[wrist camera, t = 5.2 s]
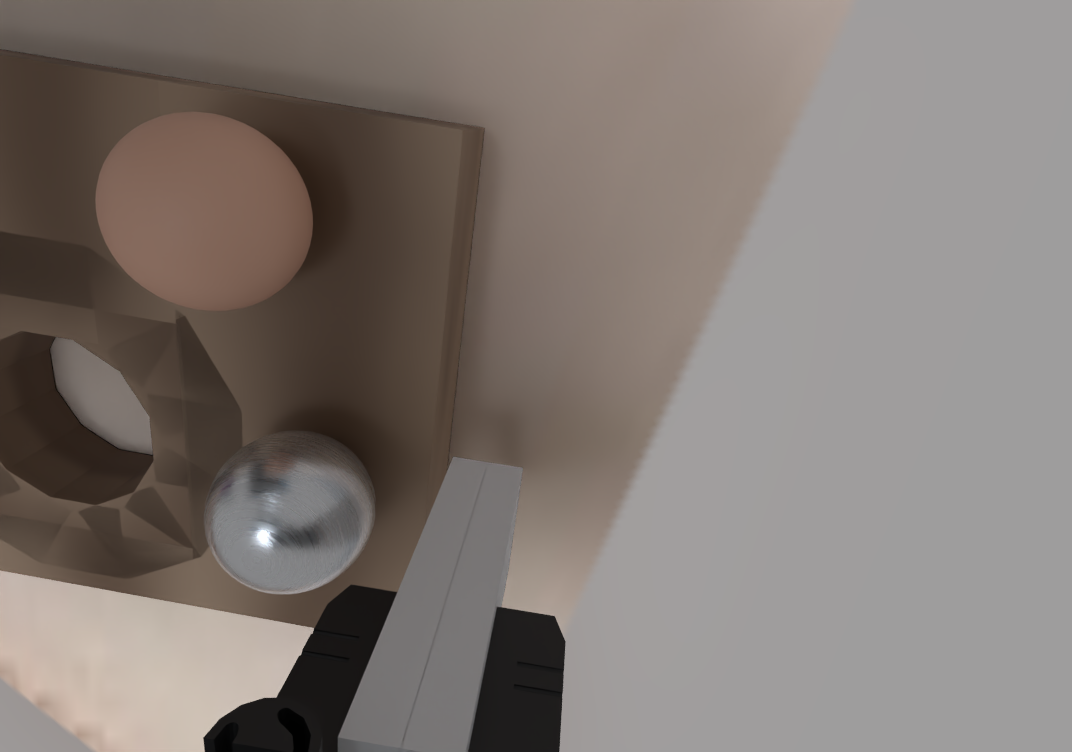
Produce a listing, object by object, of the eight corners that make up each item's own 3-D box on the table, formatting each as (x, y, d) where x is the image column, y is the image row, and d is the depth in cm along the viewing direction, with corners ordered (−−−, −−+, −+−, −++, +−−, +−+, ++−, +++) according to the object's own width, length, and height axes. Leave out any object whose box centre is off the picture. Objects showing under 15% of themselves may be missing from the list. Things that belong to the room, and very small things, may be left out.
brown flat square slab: (5, 505, 20) (-74, 556, 17) (-93, 33, 15) (-222, 18, 12) (434, 583, 19) (412, 645, 17) (484, 128, 14) (462, 130, 12)
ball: (256, 515, 16) (172, 614, 13) (253, 393, 15) (159, 468, 11) (390, 540, 16) (339, 645, 13) (399, 418, 14) (344, 502, 11)
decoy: (182, 271, 14) (57, 317, 10) (170, 98, 12) (24, 93, 9) (338, 297, 13) (259, 352, 10) (343, 127, 12) (255, 131, 9)
